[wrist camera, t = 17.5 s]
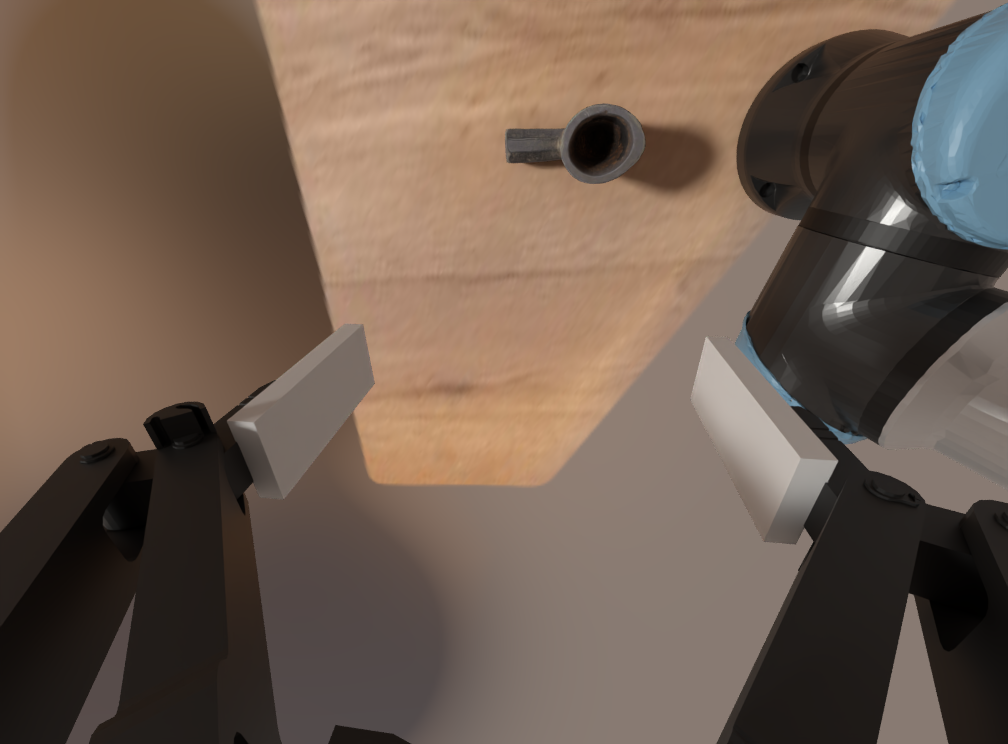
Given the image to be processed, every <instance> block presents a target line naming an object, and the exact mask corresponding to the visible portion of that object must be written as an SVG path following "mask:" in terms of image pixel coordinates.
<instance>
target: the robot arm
mask: <svg viewBox="0 0 1008 744" xmlns="http://www.w3.org/2000/svg"><path fill="white" fill-rule="evenodd" d="M737 170H738V175H739V179H740V181H741V184H742V186H743V188H744V190H745V192H746V193H747V195H748V196H749V198H750V199H751V200H752V201H753V202H754V203H755V204H756V205H758V206H759V207H760V208H762V209H763V210H765V211H767V212H769V213H772V214H774V215H778V216H781V217H784V218H788V219H793V220H801V222H800V224H799V225H798V226H797V228H796V230H795V232H794V233H793V235H792V237H791V239H790V241H789V242H788V244H787V246H786V248H785V250H784V252H783V253H782V255H781V257H780V259H779V261H778V263H777V265H776V266H775V268H774V270H773V272H772V273H771V275H770V277H769V279H768V281H767V283H766V284H765V286H764V288H763V290H762V292H761V293H760V295H759V297H758V299H757V300H756V302H755V304H754V306H753V308H752V310H751V311H749V312H748V313H747V315H746V316H745V318H744V320H743V327H742V330H741V332H740V334H739V336H738V338H737V340H736V342H735V344H734V343H733V342H732V340H730V338H729V337H711V336H707V337H706V339H705V343H704V347H703V352H702V355H701V359H700V364H699V367H698V371H697V375H696V379H695V383H694V387H693V391H692V395H691V399H690V400H691V402H692V404H693V406H694V408H695V410H696V412H697V414H698V416H699V417H700V419H701V421H702V423H703V425H704V427H705V429H706V431H707V433H708V435H709V437H710V439H711V441H712V443H713V445H714V447H715V448H716V450H717V452H718V454H719V456H720V458H721V460H722V462H723V464H724V466H725V468H726V470H727V472H728V474H729V476H730V478H731V480H732V481H733V483H734V485H735V487H736V489H737V491H738V493H739V495H740V497H741V499H742V501H743V503H744V504H745V507H746V509H747V510H748V512H749V514H750V516H751V518H752V520H753V522H754V524H755V526H756V528H757V530H758V532H759V534H760V536H761V537H762V539H763V541H764V542H774V543H775V542H776V543H786V544H796V543H797V541H798V539H799V537H800V535H801V533H802V531H803V529H804V527H805V529H806V530H807V532H808V534H809V535H810V536H811V538H812V540H813V541H814V542H813V544H812V545H811V547H810V549H809V551H808V553H807V555H806V556H805V558H804V560H803V562H802V564H801V566H800V568H799V569H798V571H799V572H798V574H797V576H796V578H795V580H794V582H793V585H792V586H791V589H790V591H789V593H788V595H787V597H786V599H785V601H784V603H783V605H782V607H781V610H780V612H779V614H778V616H777V618H776V620H775V622H774V624H773V626H772V628H771V630H770V633H769V635H768V637H767V639H766V641H765V643H764V645H763V647H762V649H761V651H760V653H759V656H758V658H757V660H756V662H755V664H754V666H753V668H752V670H751V672H750V674H749V677H748V679H747V681H746V683H745V685H744V687H743V689H742V691H741V693H740V695H739V698H738V700H737V702H736V704H735V706H734V708H733V710H732V712H731V714H730V716H729V718H728V721H727V723H726V725H725V727H724V729H723V731H722V733H721V735H720V737H719V740H718V742H717V744H877V739H878V735H879V730H880V725H881V720H882V716H883V711H884V706H885V702H886V697H887V692H888V687H889V682H890V678H891V673H892V669H893V664H894V659H895V654H896V650H897V645H898V640H899V636H900V631H901V626H902V621H903V617H904V612H905V607H906V603H907V598H908V593H910V594H913V595H914V597H915V601H916V606H917V610H918V614H919V619H920V623H921V627H922V631H923V636H924V640H925V644H926V649H927V653H928V658H929V662H930V666H931V670H932V675H933V679H934V683H935V687H936V692H937V696H938V701H939V705H940V709H941V713H942V718H943V722H944V726H945V731H946V735H947V740H948V743H949V744H1008V503H1004V502H999V501H994V500H979V501H978V502H976V503H974V504H973V505H972V507H971V508H970V509H969V510H968V512H967V513H966V514H963V513H959V512H955V511H951V510H948V509H943V508H940V507H936V506H932V505H928V504H926V503H925V500H924V499H923V498H922V497H921V496H920V494H919V493H918V492H917V491H916V490H914V489H913V488H911V487H910V486H908V485H907V484H906V483H904V482H901V481H899V480H898V479H895V478H893V477H891V476H888V475H885V474H882V473H879V472H874V471H869V470H868V469H867V468H866V467H865V466H864V465H863V464H862V463H861V462H860V460H858V458H857V457H856V456H855V455H854V454H853V453H852V452H851V451H850V450H849V449H848V448H847V447H846V446H845V445H844V444H852V443H856V442H858V441H861V440H865V439H867V438H868V439H870V440H871V441H873V442H875V443H877V444H878V445H880V446H881V447H884V448H886V449H888V450H893V449H917V448H918V449H919V448H924V449H931V450H936V451H938V452H939V453H941V454H943V455H945V456H947V457H948V458H950V459H952V460H954V461H956V462H957V463H959V464H961V465H963V466H965V467H966V468H968V469H970V470H972V471H974V472H975V473H977V474H979V475H981V476H983V477H984V478H986V479H988V480H990V481H992V482H993V483H995V484H997V485H999V486H1000V487H1002V488H1004V489H1006V490H1008V292H1007V291H1004V290H1000V289H997V288H995V287H994V285H995V283H996V281H997V280H998V279H999V277H1001V275H1002V274H1003V273H1004V272H1005V271H1006V269H1007V268H1008V3H1006V4H1004V5H1002V6H1000V7H998V8H996V9H995V10H992V11H989V12H986V13H983V14H980V15H977V16H973V17H970V18H967V19H964V20H961V21H958V22H955V23H952V24H949V25H946V26H943V27H939V28H936V29H933V30H930V31H927V32H924V33H921V34H918V35H915V36H912V37H908V36H905V35H901V34H898V33H895V32H891V31H886V30H878V29H870V30H859V31H853V32H849V33H845V34H842V35H839V36H836V37H833V38H831V39H828V40H826V41H823V42H821V43H818V44H816V45H814V46H812V47H810V48H808V49H806V50H805V51H803V52H801V53H800V54H798V55H797V56H795V57H794V58H793V59H791V60H790V61H789V62H787V63H786V64H785V65H784V66H783V67H781V68H780V69H779V70H778V71H777V72H776V73H775V74H774V75H773V76H772V77H771V78H770V80H769V81H768V82H767V83H766V84H765V86H764V87H763V88H762V89H761V91H760V92H759V94H758V95H757V97H756V98H755V100H754V101H753V103H752V105H751V107H750V109H749V111H748V113H747V115H746V117H745V120H744V122H743V125H742V128H741V131H740V135H739V139H738V145H737ZM374 384H375V383H374V377H373V372H372V367H371V362H370V357H369V352H368V347H367V342H366V337H365V332H364V327H363V324H344V325H343V326H341V327H340V328H339V329H338V330H337V331H335V332H334V333H333V334H332V335H330V336H329V337H328V338H327V339H326V340H325V341H323V342H322V343H321V344H320V345H318V346H317V347H316V348H315V349H314V350H312V351H311V352H310V353H309V354H307V355H306V356H305V357H304V358H303V359H301V360H300V361H299V362H298V363H296V364H295V365H294V366H293V367H292V368H291V369H289V370H288V371H287V372H285V373H284V374H283V375H282V376H281V377H279V378H278V379H277V380H274V381H272V382H270V383H268V384H266V385H264V386H262V387H260V388H258V389H257V390H256V391H255V392H253V393H252V394H251V395H250V396H249V398H246V399H245V400H243V401H242V402H241V403H240V405H239V406H236V407H235V408H233V409H232V410H231V411H230V412H228V413H227V414H226V415H225V416H223V417H222V418H221V419H220V420H218V421H217V422H216V423H215V424H213V422H212V420H211V419H210V416H209V414H208V411H207V409H206V407H205V405H204V404H203V403H200V402H184V403H179V404H175V405H172V406H169V407H166V408H164V409H162V410H159V411H158V412H155V413H154V414H153V415H151V416H150V417H148V418H147V419H146V421H145V422H144V424H143V425H144V427H145V428H146V430H147V432H148V434H149V436H150V437H151V439H152V441H153V443H154V445H155V446H156V448H157V449H154V450H147V451H140V452H135V451H134V449H133V447H132V446H131V444H130V442H129V441H128V440H127V439H123V438H113V439H107V440H103V441H97V442H94V443H92V444H89V445H86V446H84V447H83V448H82V449H80V450H78V451H76V452H75V453H73V454H72V455H70V456H69V457H68V458H67V459H66V460H65V461H64V462H63V463H62V464H61V465H60V466H59V467H58V469H57V470H56V471H55V472H54V473H53V474H52V475H51V476H50V478H49V479H48V480H47V481H46V482H45V483H44V484H43V485H42V487H41V488H40V489H39V490H38V491H37V492H36V493H35V494H34V495H33V497H32V498H31V499H30V500H29V501H28V502H27V503H26V505H25V506H24V507H23V508H22V509H21V510H20V511H19V512H18V513H17V515H16V516H15V517H14V518H13V519H12V520H11V521H10V523H9V524H8V525H7V526H6V527H5V528H4V529H3V530H2V532H1V533H0V744H65V743H66V741H67V739H68V737H69V735H70V733H71V731H72V728H73V726H74V724H75V722H76V720H77V718H78V716H79V713H80V711H81V709H82V707H83V705H84V703H85V700H86V698H87V696H88V694H89V692H90V689H91V687H92V685H93V683H94V681H95V678H96V677H97V675H98V672H99V670H100V668H101V666H102V664H103V662H104V659H105V657H106V655H107V653H108V651H109V649H110V646H111V644H112V642H113V640H114V638H115V636H116V633H117V631H118V629H119V627H120V625H121V623H122V621H123V618H124V616H125V614H126V612H127V610H128V608H129V606H130V603H131V601H132V599H133V597H134V594H135V593H136V595H135V602H134V609H133V616H132V622H131V629H130V635H129V642H128V648H127V655H126V662H125V668H124V675H123V683H122V689H121V695H120V701H119V706H118V710H117V714H116V715H115V717H113V718H111V719H109V720H107V721H105V722H104V723H102V724H100V725H99V726H98V727H97V728H96V730H95V731H94V733H93V734H92V736H91V739H90V742H89V744H282V743H281V740H280V736H279V731H278V726H277V719H276V711H275V703H274V696H273V689H272V681H271V673H270V666H269V658H268V650H267V642H266V634H265V627H264V619H263V612H262V604H261V596H260V589H259V582H258V573H257V566H256V559H255V551H254V543H253V535H252V528H251V520H250V513H249V505H248V500H247V498H246V495H245V493H244V492H245V490H246V489H247V488H248V487H249V486H250V485H251V484H252V483H254V486H255V488H256V490H257V493H258V495H259V497H262V498H274V499H284V498H285V497H286V496H287V495H288V493H289V492H290V491H291V490H292V488H293V487H294V486H295V485H296V483H297V482H298V481H299V479H300V478H301V477H302V476H303V474H304V473H305V472H306V470H307V469H308V468H309V467H310V465H311V464H312V463H313V462H314V460H315V459H316V458H317V456H318V455H319V454H320V453H321V451H322V450H323V449H324V448H325V446H326V445H327V444H328V442H329V441H330V440H331V439H332V437H333V436H334V435H335V433H336V432H337V431H338V430H339V428H340V427H341V426H342V425H343V423H344V422H345V421H346V419H347V418H348V417H349V415H350V414H351V413H352V412H353V410H354V409H355V408H356V407H357V405H358V404H359V403H360V402H361V400H362V399H363V398H364V396H365V395H366V394H367V393H368V391H369V390H370V389H371V388H372V386H373V385H374ZM328 744H410V743H409V742H407V741H405V740H403V739H401V738H399V737H398V736H396V735H394V734H390V733H384V732H376V731H370V730H364V729H357V728H351V727H344V726H338V725H336V726H335V728H334V731H333V733H332V736H331V738H330V741H329V743H328Z"/></svg>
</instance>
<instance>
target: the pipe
mask: <svg viewBox="0 0 1008 744" xmlns="http://www.w3.org/2000/svg"><path fill="white" fill-rule="evenodd" d="M505 148H506V159H507V162H508V163H528V162H544V161H553V160H562V161H563V163H564V166H565V167H566V169H567V170H568V172H569V173H570V174H571V175H572V176H573V177H574V178H575V179H577V180H579V181H581V182H584V183H589V184H599V183H606V182H609V181H611V180H614V179H616V178H618V177H619V176H621V175H622V174H623V173H625V172H626V171H627V170H628V169H629V168H631V167H632V166H633V165H634V164H635V163H636V162H637V161H638V160H639V158H640V156H641V155H642V153H643V152H644V149H645V136H644V132H643V130H642V126H641V124H640V122H639V121H638V119H637V118H636V117H635V116H634V115H633V114H631V113H630V112H629V111H627V110H626V109H624V108H622V107H620V106H617V105H611V104H596V105H592V106H589V107H586V108H585V109H583V110H581V111H580V112H579V113H577V114H576V115H575V116H574V117H573V118H572V119H571V120H570V122H569V123H568V125H567V127H566V128H565V129H506V132H505Z"/></svg>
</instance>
